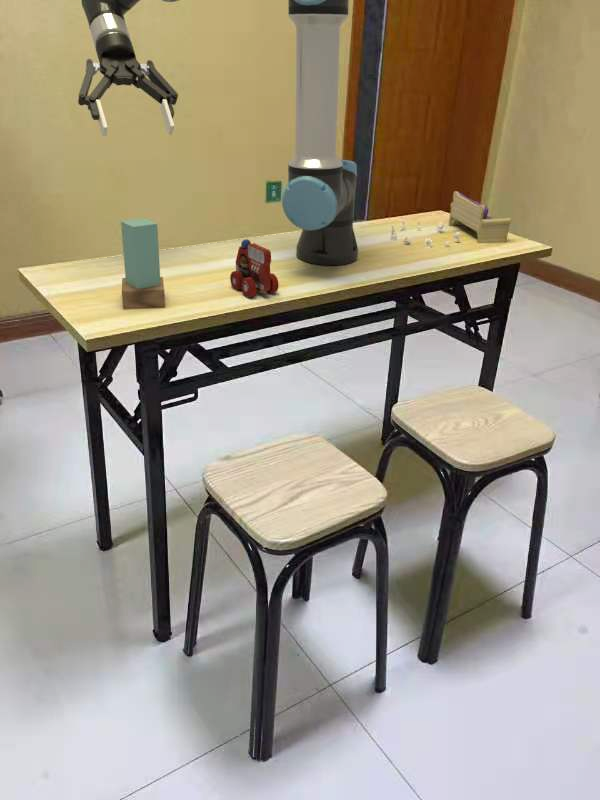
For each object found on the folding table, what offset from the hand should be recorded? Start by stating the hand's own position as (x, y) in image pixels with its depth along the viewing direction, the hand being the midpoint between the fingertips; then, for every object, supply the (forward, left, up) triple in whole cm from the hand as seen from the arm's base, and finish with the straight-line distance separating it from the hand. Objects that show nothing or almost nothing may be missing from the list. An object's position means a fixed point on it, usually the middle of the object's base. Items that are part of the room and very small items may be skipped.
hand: (139, 131), depth 138 cm
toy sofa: (-96, -2, -30) cm, 100 cm away
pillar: (+6, +17, -26) cm, 31 cm away
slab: (+6, +17, -30) cm, 35 cm away
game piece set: (-78, -3, -30) cm, 84 cm away
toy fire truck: (-17, +19, -30) cm, 39 cm away
